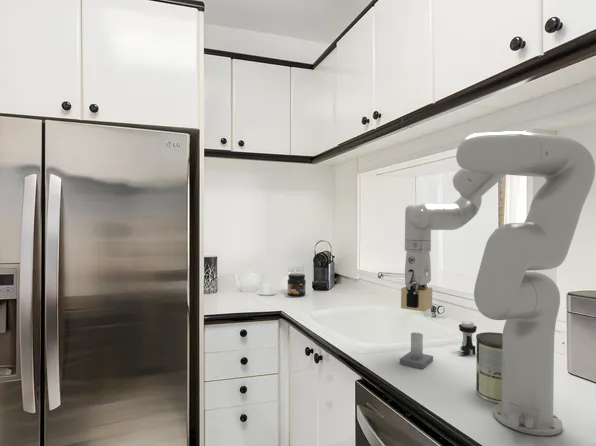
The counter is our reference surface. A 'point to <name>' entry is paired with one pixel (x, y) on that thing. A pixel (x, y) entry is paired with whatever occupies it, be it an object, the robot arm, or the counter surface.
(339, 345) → the counter surface
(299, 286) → the supplement container
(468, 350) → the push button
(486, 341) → the coffee can
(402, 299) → the collar
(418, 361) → the piston block
